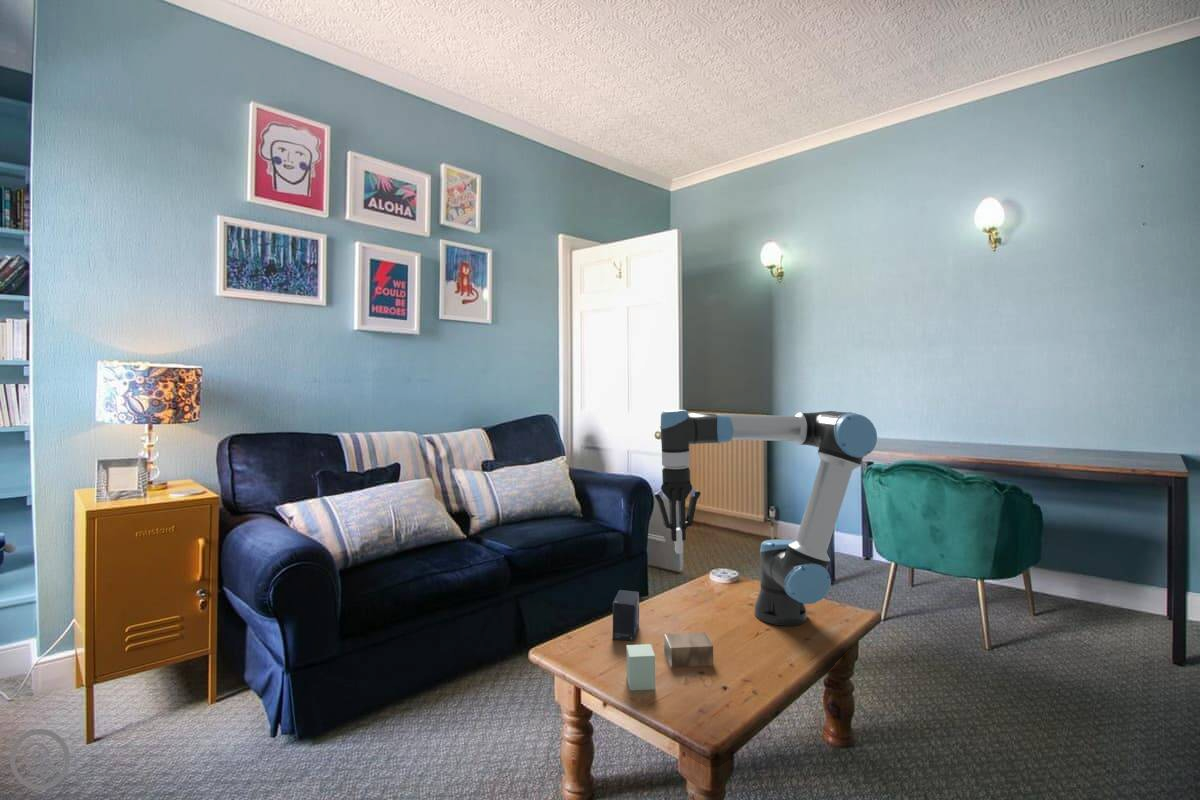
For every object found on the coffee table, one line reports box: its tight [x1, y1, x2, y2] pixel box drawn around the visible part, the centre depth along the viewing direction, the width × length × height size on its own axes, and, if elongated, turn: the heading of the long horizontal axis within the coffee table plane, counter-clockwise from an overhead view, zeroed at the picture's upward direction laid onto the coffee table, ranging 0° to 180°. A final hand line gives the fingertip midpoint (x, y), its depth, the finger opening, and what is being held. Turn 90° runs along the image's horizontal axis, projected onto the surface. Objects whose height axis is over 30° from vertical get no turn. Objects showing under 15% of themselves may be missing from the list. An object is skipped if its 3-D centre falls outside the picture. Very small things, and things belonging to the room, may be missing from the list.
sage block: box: [625, 643, 656, 691], centre depth 139 cm, size 6×6×8 cm
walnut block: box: [663, 632, 714, 668], centre depth 151 cm, size 5×8×11 cm
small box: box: [612, 589, 640, 642], centre depth 167 cm, size 11×6×10 cm, turn 168°
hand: (678, 552), depth 159 cm, fingers closed
